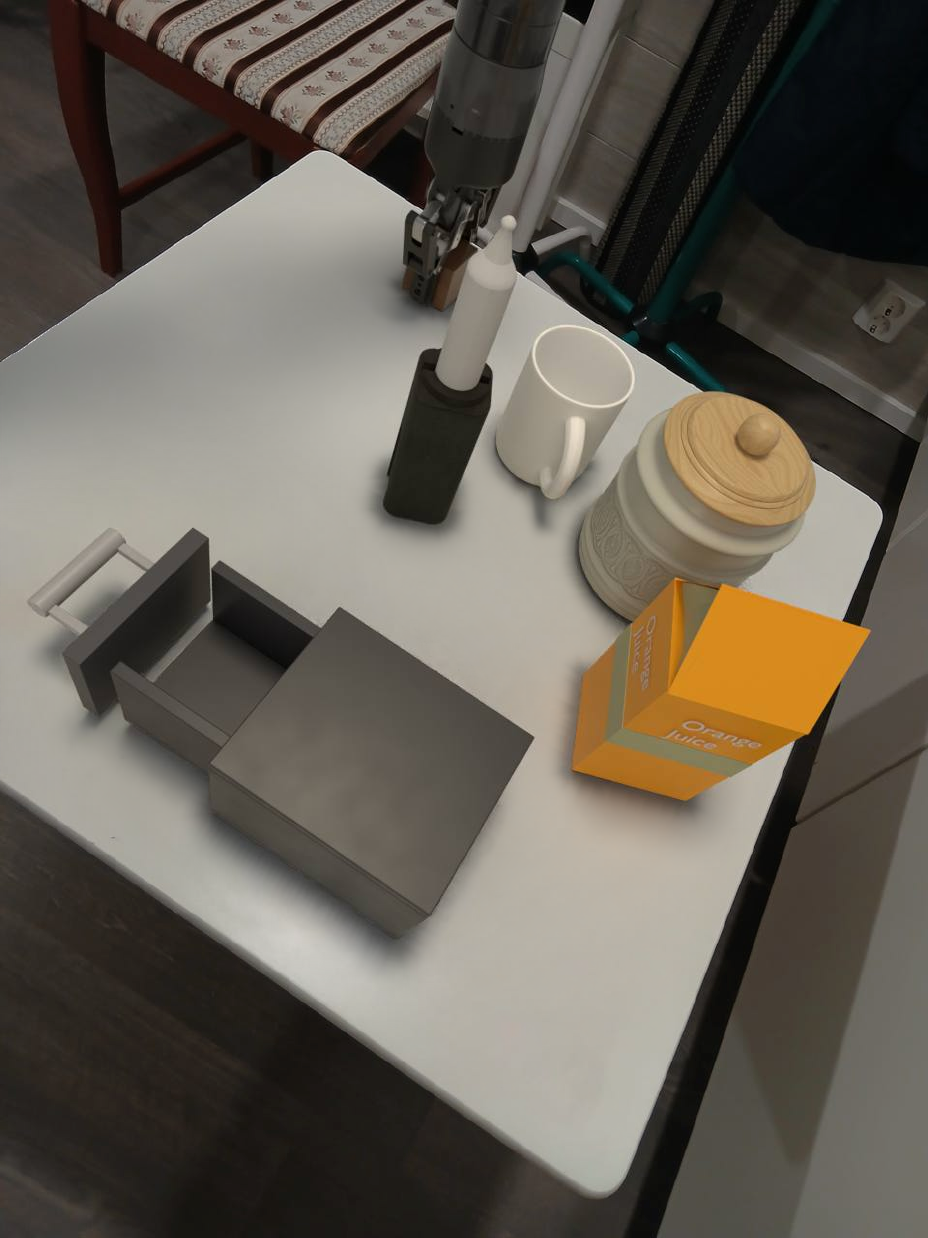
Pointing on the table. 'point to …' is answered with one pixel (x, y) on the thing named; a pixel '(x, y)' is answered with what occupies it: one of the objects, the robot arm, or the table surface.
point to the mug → (563, 406)
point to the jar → (697, 501)
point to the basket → (151, 619)
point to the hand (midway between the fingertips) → (434, 284)
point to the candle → (452, 391)
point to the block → (447, 273)
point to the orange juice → (707, 687)
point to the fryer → (367, 773)
